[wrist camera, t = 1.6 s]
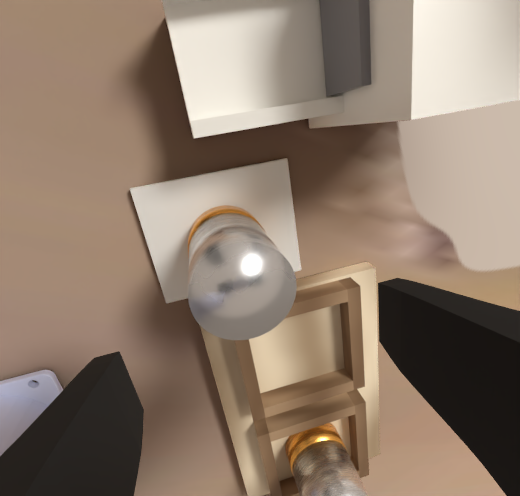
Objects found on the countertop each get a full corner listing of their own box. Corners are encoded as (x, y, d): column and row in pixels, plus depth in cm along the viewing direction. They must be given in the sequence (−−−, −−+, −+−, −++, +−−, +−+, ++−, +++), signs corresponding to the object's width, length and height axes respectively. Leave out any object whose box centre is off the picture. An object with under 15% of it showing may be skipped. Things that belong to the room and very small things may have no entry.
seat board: (246, 486, 24) (252, 518, 22) (195, 304, 18) (196, 325, 16) (373, 443, 26) (388, 469, 24) (367, 261, 20) (387, 275, 17)
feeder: (195, 149, 15) (200, 158, 8) (161, 2, 13) (125, -177, 6) (395, 112, 17) (558, 93, 9) (395, -24, 14) (608, -190, 7)
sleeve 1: (197, 284, 17) (201, 353, 12) (179, 214, 16) (173, 255, 10) (268, 267, 18) (303, 325, 12) (256, 198, 16) (290, 229, 11)
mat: (166, 300, 17) (166, 303, 17) (131, 187, 15) (129, 189, 15) (299, 267, 19) (301, 270, 18) (285, 158, 16) (287, 158, 16)
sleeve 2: (288, 469, 23) (320, 573, 18) (281, 431, 22) (313, 532, 16) (339, 451, 24) (384, 547, 18) (335, 413, 22) (383, 505, 17)
